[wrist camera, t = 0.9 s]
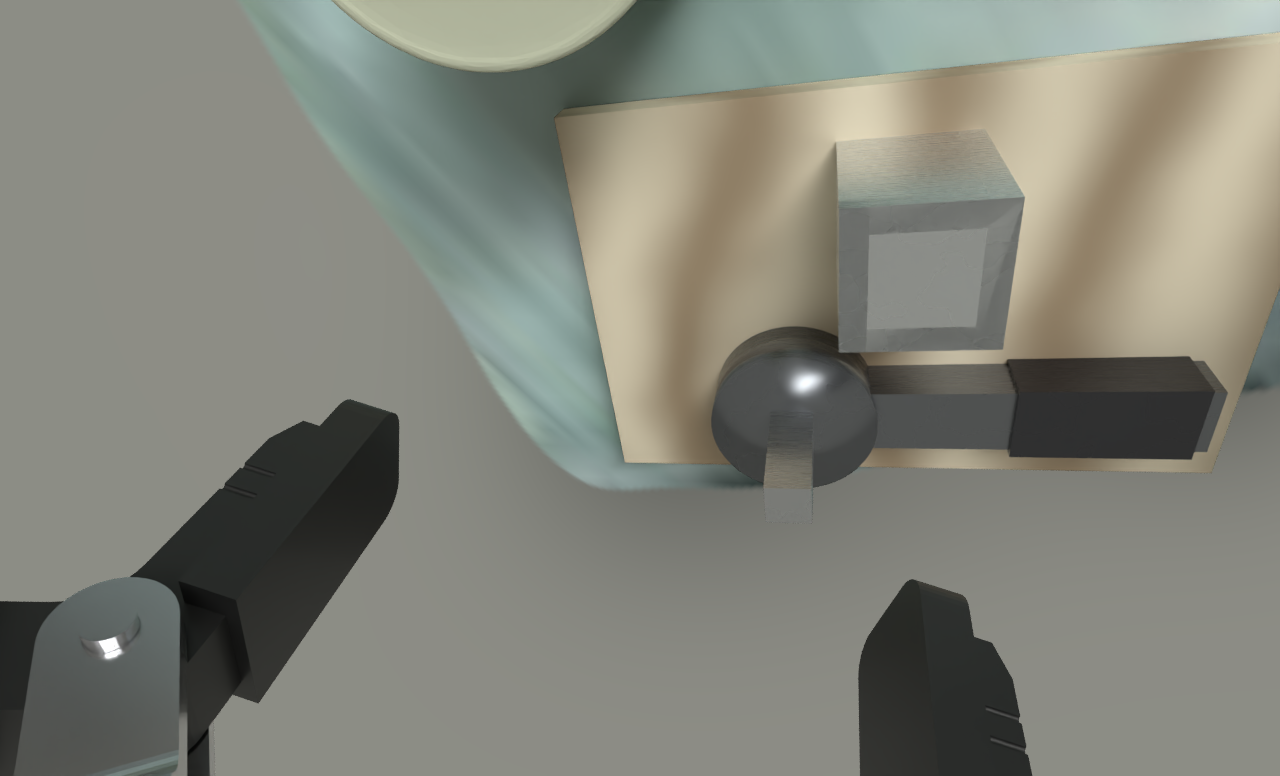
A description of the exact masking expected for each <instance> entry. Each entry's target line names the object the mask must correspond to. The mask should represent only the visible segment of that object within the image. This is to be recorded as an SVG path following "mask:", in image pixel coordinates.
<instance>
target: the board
mask: <svg viewBox="0 0 1280 776" xmlns="http://www.w3.org/2000/svg"><path fill="white" fill-rule="evenodd" d="M554 120H555V125H556V130H557V135H558V140H559V144H560V149H561V154H562V159H563V164H564V169H565V174H566V178H567V183H568V188H569V193H570V198H571V203H572V207H573V212H574V217H575V222H576V227H577V232H578V237H579V241H580V246H581V251H582V256H583V261H584V266H585V271H586V275H587V280H588V285H589V290H590V295H591V300H592V304H593V309H594V314H595V319H596V324H597V329H598V334H599V338H600V343H601V348H602V353H603V358H604V363H605V367H606V372H607V377H608V382H609V387H610V392H611V397H612V401H613V406H614V411H615V416H616V421H617V426H618V431H619V435H620V440H621V445H622V450H623V455H624V460H625V463H678V464H731V463H730V462H729V461H728V460H727V459H726V458H725V457H724V456H723V454H722V453H721V452H720V450H719V448H718V446H717V444H716V442H715V439H714V437H713V433H712V428H711V416H712V409H713V404H714V400H715V395H716V390H717V385H718V380H719V376H720V372H721V369H722V367H723V365H724V363H725V361H726V360H727V358H728V357H729V355H730V354H731V353H732V352H733V351H734V349H735V348H736V347H738V346H739V345H740V344H741V343H742V342H744V341H745V340H747V339H749V338H750V337H752V336H754V335H756V334H758V333H761V332H764V331H767V330H770V329H774V328H779V327H789V326H800V327H809V328H815V329H819V330H823V331H826V332H828V333H831V334H833V335H835V336H837V337H838V307H837V272H836V142H837V141H848V140H860V139H871V138H883V137H894V136H906V135H917V134H929V133H940V132H952V131H963V130H975V129H985V130H986V132H987V133H988V135H989V137H990V138H991V140H992V142H993V144H994V145H995V147H996V149H997V150H998V152H999V154H1000V155H1001V157H1002V159H1003V160H1004V162H1005V164H1006V166H1007V167H1008V169H1009V171H1010V172H1011V174H1012V176H1013V177H1014V179H1015V181H1016V182H1017V184H1018V186H1019V188H1020V189H1021V191H1022V193H1023V194H1024V196H1025V201H1024V208H1023V215H1022V221H1021V228H1020V235H1019V242H1018V249H1017V256H1016V263H1015V270H1014V277H1013V284H1012V290H1011V297H1010V304H1009V311H1008V318H1007V325H1006V332H1005V339H1004V346H1003V350H959V351H905V352H859V353H860V355H861V356H862V357H863V358H864V360H865V361H866V363H867V365H868V366H871V365H941V364H1007V361H1008V359H1049V358H1113V357H1177V356H1190V358H1191V359H1192V360H1193V361H1205V363H1206V364H1207V365H1208V367H1209V368H1210V369H1211V371H1212V372H1213V373H1214V375H1215V376H1216V377H1217V379H1218V380H1219V381H1220V383H1221V384H1222V385H1223V386H1224V388H1225V389H1226V390H1227V392H1228V395H1227V397H1226V400H1225V403H1224V406H1223V409H1222V412H1221V414H1220V417H1219V420H1218V423H1217V426H1216V428H1215V431H1214V434H1213V437H1212V440H1211V442H1210V445H1209V448H1208V451H1207V452H1194V455H1193V457H1192V460H1172V459H1103V458H1033V457H1009V455H1008V452H1007V450H992V449H909V448H873V449H872V451H871V453H870V454H869V456H868V457H867V459H866V460H865V461H864V462H863V463H862V464H861V465H860V466H859V467H899V468H900V467H902V468H955V469H1010V470H1013V469H1014V470H1065V471H1069V470H1071V471H1122V472H1125V471H1126V472H1175V473H1177V472H1178V473H1179V472H1180V473H1212V470H1213V467H1214V465H1215V462H1216V459H1217V457H1218V453H1219V451H1220V448H1221V445H1222V443H1223V440H1224V438H1225V435H1226V432H1227V429H1228V426H1229V424H1230V421H1231V418H1232V416H1233V413H1234V410H1235V408H1236V405H1237V402H1238V399H1239V397H1240V394H1241V391H1242V389H1243V386H1244V383H1245V380H1246V378H1247V375H1248V372H1249V369H1250V367H1251V364H1252V361H1253V359H1254V356H1255V353H1256V350H1257V348H1258V345H1259V342H1260V340H1261V337H1262V334H1263V331H1264V329H1265V326H1266V323H1267V320H1268V318H1269V315H1270V312H1271V310H1272V307H1273V304H1274V301H1275V299H1276V296H1277V293H1278V291H1279V288H1280V33H1270V34H1261V35H1251V36H1242V37H1233V38H1223V39H1214V40H1205V41H1195V42H1186V43H1176V44H1167V45H1158V46H1148V47H1139V48H1130V49H1120V50H1111V51H1101V52H1092V53H1083V54H1073V55H1064V56H1054V57H1045V58H1036V59H1026V60H1017V61H1008V62H998V63H989V64H979V65H970V66H961V67H951V68H942V69H933V70H923V71H914V72H904V73H895V74H886V75H876V76H867V77H857V78H848V79H839V80H829V81H820V82H811V83H801V84H792V85H782V86H773V87H764V88H754V89H745V90H735V91H726V92H717V93H707V94H698V95H689V96H679V97H670V98H660V99H651V100H642V101H632V102H623V103H614V104H604V105H595V106H585V107H576V108H567V109H563V110H562V111H561V112H560V113H559V114H558V115H557V116H556V117H554Z"/></svg>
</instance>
